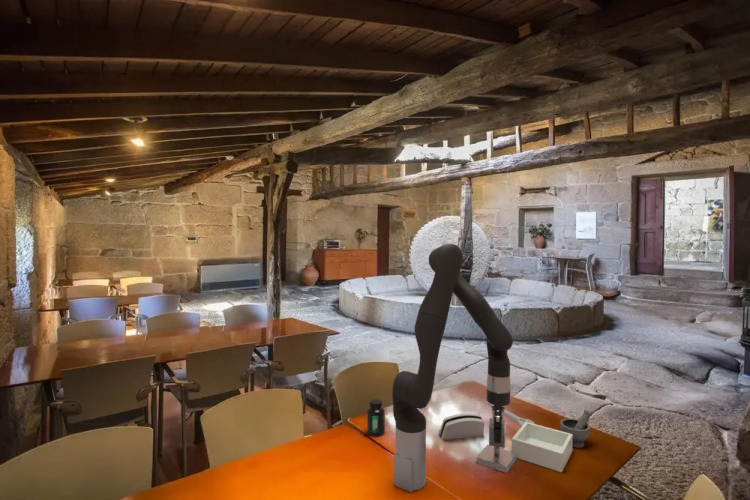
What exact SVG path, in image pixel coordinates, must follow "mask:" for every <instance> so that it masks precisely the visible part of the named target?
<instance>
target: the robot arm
mask: <svg viewBox="0 0 750 500" xmlns="http://www.w3.org/2000/svg"><path fill="white" fill-rule="evenodd" d="M463 263H464V255H463V251H462V249H461V248H460V246H458V245H456V244H455V243H447V244H443V245H441V246H439V247H436V248H434V249H433V250H432V251H431V252H430V253H429V255H428V264H429V266H430V269H431V270H432V271H433V272H434V276H433V279H432V283H431V285H430V288H429V289H428V291H427V292H426V294H425V296H424V298H423V299H422V301H421V304H420V306H419V309H418V312H417V316H416V320H415V323H414V336H415V340H416V343H417V348H418V352H419V365H418V370H417V373H414V372H411V371H408V370H402V371H400V372H398V373H397V374H396V376H395V377H394V379H393V383H392V391H391V392H392V411H393V412H392V413H393V418H394V421H395V453H394V455H393V457H394V458H393V485H394V486H396V487H397V488H400V489H402V490H405V491H406V492H409V493H413V492H414V491H418V490H421V489H422V488H424V487H425V486H426V478H427V474H426V473H427V472H426V471H427V468H426V467H427V465H426V464H427V419H426V416H425V415H424V414H423V413H422V411H420V410H421V409H425V407H426V406H428V405H429V403H430V401H431V398H432V395H433V391H434V384H435V378H436V377H435V376H436V372H437V364H438V360H439V359H438V358H439V354H440V351H441V350H440V349H441V346H442V340H443V337H444V334H445V329H446V325H447V320H448V315H449V312H450V308H451V303H452V299H453V294H454V295H455V296H456V298H457V299H458V301H460V303H461V304H462V305H463V307H464V308H465V310H466V311H467V313H468V314H469V316H470V317H471V318H472V320H473V321H474V323H475V324H476V325H477V326H478V327H479V328H480V329H481V330H482V332H483V334H484V335H485V337H486V338H485V339H486V351H487V357H488V358H487V361H488V362H487V377H486V402H487V403H490V404H493V405H494V406H493V405H492V407H491V414H492V417H491V418H492V423H493V424H494V428H493V431H494V442H495V443H501V433H502V425H503V420H504V416H505V415H504V409H505V407H504V406H509V405H510V404H511V362H510V357H509V356H508V351H509V350H510V349H511V348H512V346H513V343H514V339H513V336H512V334H511V332H510V331H509V330H508V329H507V327H506V326H505V325H504V324H503V322H502V321H501V320H500V319H499V318H498V315H497V314H496V313H495V311H494V310H493V308H492V307H491V305H490V304H489V301H487V299H486V298H485V297H484V296H483V294H481V293H480V291H478V290H477V289H476V288H474V286H473V285H471V284H470V283H469V282H468V280H466V279H465V278H464V276H463V275H462V274H461V269H462V266H463ZM496 426H497V427H500V428H495V427H496Z"/></svg>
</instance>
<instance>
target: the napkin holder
mask: <svg viewBox="0 0 750 500" xmlns="http://www.w3.org/2000/svg"><path fill="white" fill-rule="evenodd" d="M484 421H485V420H484V419H483V417H482V416H481V415H480V414H476V413H464V412H463V413H456V414H453V415H449V416H446V417H445V418H443V419H442V423H441V425H440V429H438V435H439V436H440V439H441V440H443V441H445V440H446V441H447V440H453V439H455V440H456V439H465V438H475V437H484V433H485V422H484Z"/></svg>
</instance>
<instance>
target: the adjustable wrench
mask: <svg viewBox="0 0 750 500" xmlns="http://www.w3.org/2000/svg"><path fill="white" fill-rule="evenodd" d="M488 403H489V402H488ZM492 405H493V404H490V403H489V405H488V406H489V407H490V408H492ZM493 406H494V405H493ZM504 416H506V417H508V418H509V419H511V420H513V421H515V422H516V423H517V425H518V426H519V427H520V428H521V427H522V426H523V425H524V423H525V422H529V423H532V424H536V423H535V422H534V421H532V420H531V419H526V418H523V417H520V416H518V415H516V414H514V413H512V412H510V411H509V410H507V409H505V408H504Z"/></svg>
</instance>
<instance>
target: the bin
mask: <svg viewBox="0 0 750 500" xmlns="http://www.w3.org/2000/svg"><path fill="white" fill-rule="evenodd" d="M572 446H573V434H570V433H566V432H562V431H561V430H558V429H555V428H551V427H546V426H543V425H539V424H536V423H535V424H532V423H529V422H525V423H524V425H523V426H522V427H520V428H519V429H518V431H516V433H515V434H514V436H513V437H512V438H511V452H513V453H516V454H517V459H519V460H523V461H526V462H529V463H532V464H534V465H538V466H541V467H544V468H547V469H550V470H554V471H556V472H559V473H563V471H564V469H565V467H566V465H567V463H568V461H569V459H570V457H571V455H572V452H573V447H572Z"/></svg>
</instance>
